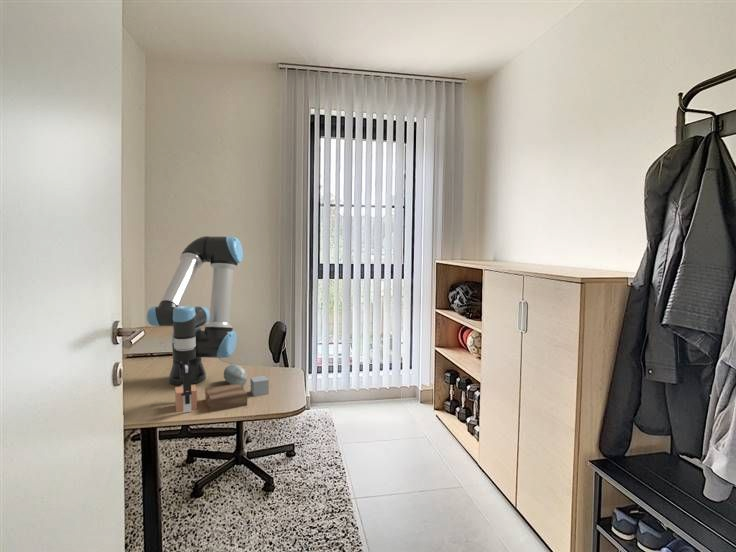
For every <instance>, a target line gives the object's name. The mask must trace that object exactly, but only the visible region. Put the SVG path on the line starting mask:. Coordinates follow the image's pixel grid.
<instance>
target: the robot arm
mask: <svg viewBox="0 0 736 552" xmlns="http://www.w3.org/2000/svg"><path fill="white" fill-rule="evenodd" d="M243 256H244V254H243V246H242V243H241V241H240V239H239V238H238V237H235V236H209V235H208V236H201V237H199V238H196V239H194V240H193V241H192V242H190V243H189V244H188V245H187V246H186V247H185V248H184V250H183V251H182V252H181V254H180V256H179V261H180V262H179V264H178V266H177V268H176V270H175V272H174V274H173V276H172V278H171V281H170V282H169V284H168V286H167V288H166V290H165V292H164V294H163V297H162V299H161V301H160V302H159V304H158V306H151V307H150V308H149V309H148V310H147V313H146V320H147V322H148V324H149V325H150V326H153V327H173V328H172V330H173V331H172V332H173V333H172V337H171V338H172V339H171V343H172V345H171V346H172V348H171V349H172V365H171V369H170V372H169V375H168V383H169V384H171V385H175V386H180V387H181V386H183V394H181V396H183V411H182V412H183V413H190V412H192V410H191V394H192V392H191V385H196V384H199V383H201V382H203V381H205V380H206V378H207V373H206V370H205V367H204V364H203V362H202V358H205V359H206V358H207V359H208V358H209V359H210V358H212V359H213V358H214V359H216V358H217V359H224V358H225V359H228V358H229V357H231V356H232V355H233V353H234V351H235V349H236V345H237V341H238V335H237V333H236V331H234V330H233V329H234V328H233V326H232V324H231V323H230V322H231V308H232V294H233V282H234V281H233V280H234V272H235V270H236V269H237V268H238V264H240V263H242V261H243V258H244V257H243ZM204 263H209V264H210V267H212V270H213V271H212V282H211V284H212V285H211V295H210V296H211V298H210V305H209V309H208V308H207V307H205V306H202V305H201V306H195V307H194V306H192V305H182V304H183V301H184V299H185V297H186V296H187V293H188V291H189V288H190V286H191V284H192V283H193V280H194V277H195V275H196V273H197V271H198V269H200V268H201V267H202V266H203V264H204ZM204 325H205V326H204ZM202 326H204V330H202V328H201V327H202ZM186 391H188V392H186Z"/></svg>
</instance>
